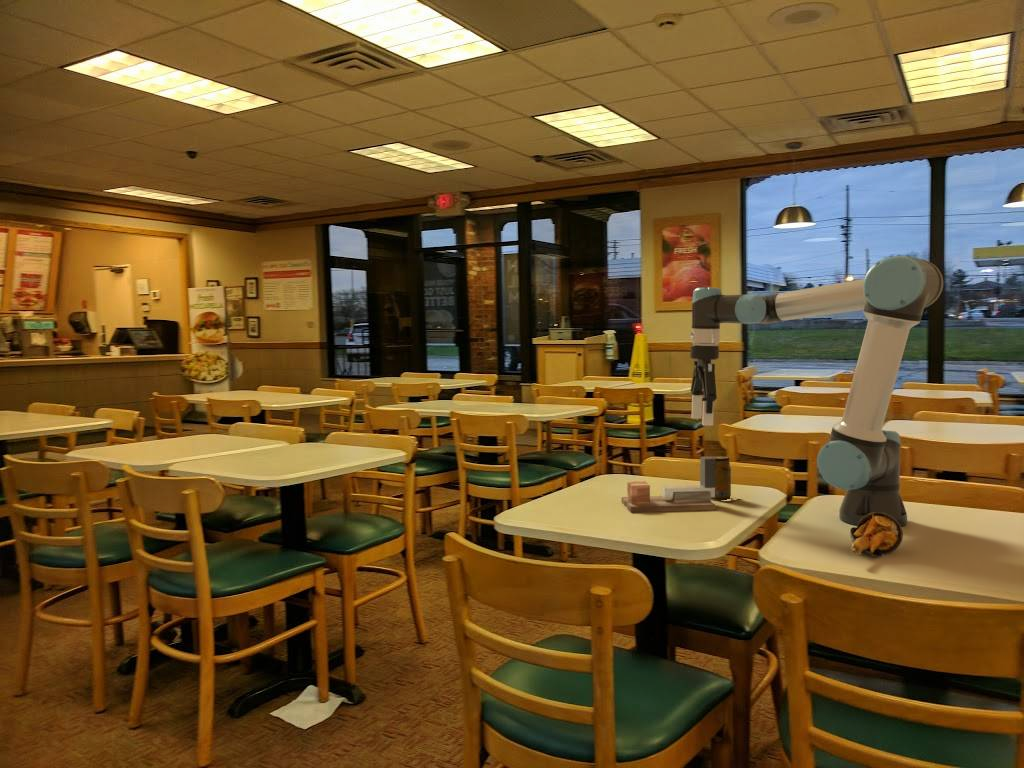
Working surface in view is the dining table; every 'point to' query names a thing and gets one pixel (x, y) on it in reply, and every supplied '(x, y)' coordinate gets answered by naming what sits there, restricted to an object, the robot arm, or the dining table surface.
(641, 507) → the rail slide board
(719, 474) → the condiment
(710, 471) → the mallet
